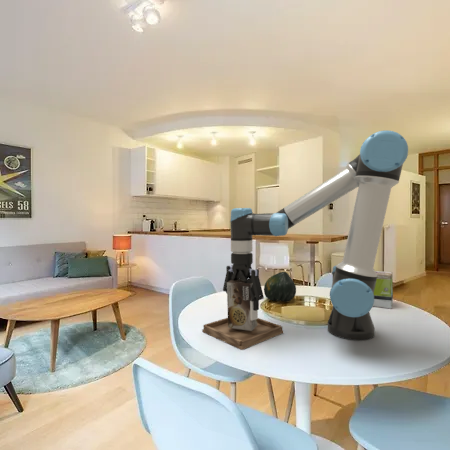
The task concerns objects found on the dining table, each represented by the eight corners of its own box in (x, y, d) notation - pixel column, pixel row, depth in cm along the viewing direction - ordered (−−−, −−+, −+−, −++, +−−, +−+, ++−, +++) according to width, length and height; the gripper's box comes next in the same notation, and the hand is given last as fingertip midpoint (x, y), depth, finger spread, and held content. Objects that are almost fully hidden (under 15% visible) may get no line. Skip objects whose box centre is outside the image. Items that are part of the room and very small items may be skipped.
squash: (258, 285, 153) (266, 266, 143) (284, 285, 157) (294, 266, 147) (266, 310, 142) (275, 291, 133) (294, 308, 147) (305, 290, 137)
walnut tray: (283, 332, 104) (283, 326, 104) (241, 350, 91) (241, 342, 91) (243, 318, 119) (243, 313, 119) (202, 331, 106) (202, 325, 106)
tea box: (393, 303, 137) (393, 271, 137) (391, 309, 129) (391, 275, 129) (357, 299, 146) (357, 269, 145) (354, 304, 137) (353, 272, 137)
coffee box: (258, 325, 106) (257, 279, 106) (251, 331, 100) (251, 283, 100) (234, 321, 110) (233, 277, 109) (226, 327, 104) (226, 281, 104)
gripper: (274, 254, 98) (275, 321, 99) (227, 249, 115) (228, 306, 116) (258, 256, 93) (259, 326, 94) (212, 250, 111) (213, 310, 111)
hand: (242, 315), depth 105 cm, fingers closed on coffee box, 10 cm apart
